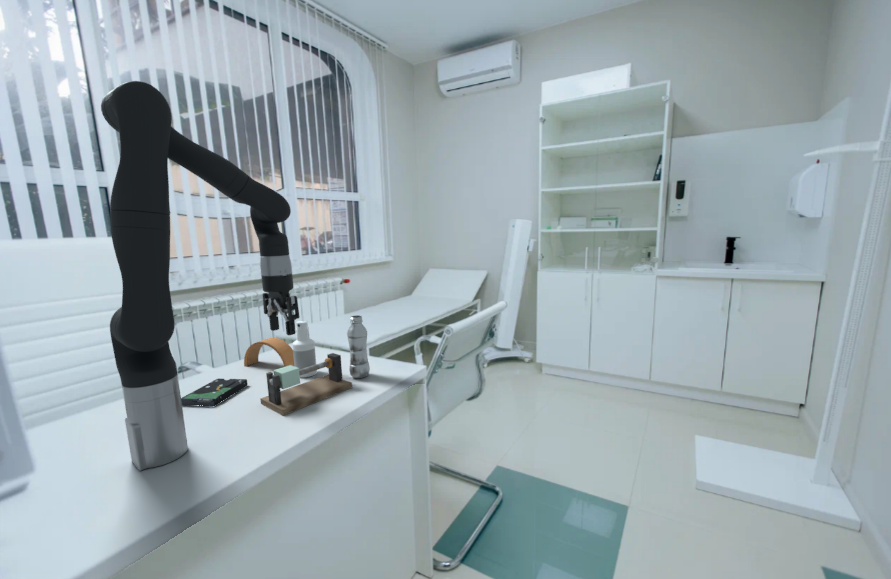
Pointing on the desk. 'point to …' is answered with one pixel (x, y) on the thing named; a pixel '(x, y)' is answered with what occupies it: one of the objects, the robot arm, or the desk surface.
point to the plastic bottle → (358, 348)
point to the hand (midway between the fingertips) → (282, 332)
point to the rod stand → (306, 387)
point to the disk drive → (214, 392)
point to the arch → (274, 343)
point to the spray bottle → (304, 349)
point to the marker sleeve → (288, 376)
